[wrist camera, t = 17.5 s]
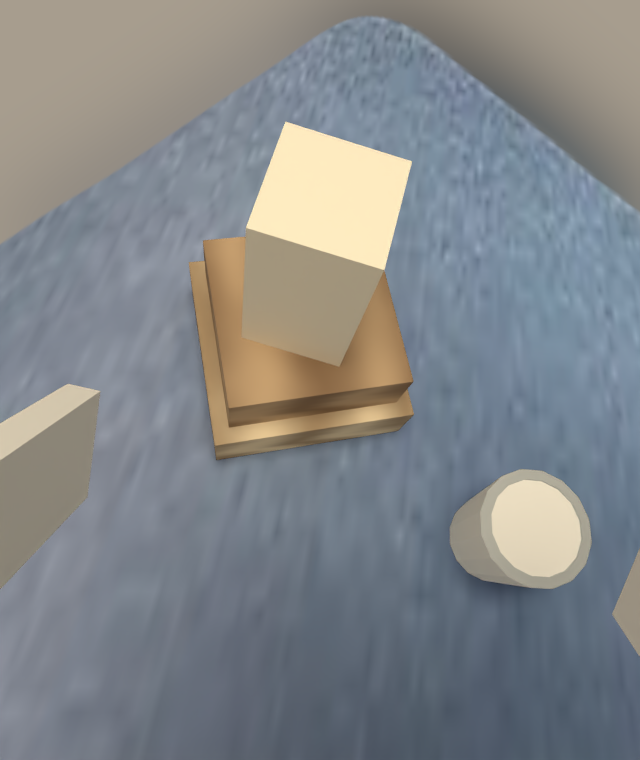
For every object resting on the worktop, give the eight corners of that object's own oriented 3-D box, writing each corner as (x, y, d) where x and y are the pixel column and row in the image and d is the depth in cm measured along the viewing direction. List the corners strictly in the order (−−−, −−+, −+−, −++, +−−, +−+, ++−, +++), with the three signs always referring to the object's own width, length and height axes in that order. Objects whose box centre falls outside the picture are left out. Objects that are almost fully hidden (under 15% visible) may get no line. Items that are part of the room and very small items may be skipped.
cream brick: (362, 282, 37) (411, 161, 27) (339, 366, 35) (384, 269, 25) (270, 254, 37) (285, 121, 27) (241, 337, 35) (245, 227, 24)
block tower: (359, 273, 47) (383, 211, 39) (397, 430, 43) (433, 394, 35) (192, 290, 44) (184, 228, 37) (216, 460, 40) (213, 427, 33)
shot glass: (505, 613, 39) (560, 615, 33) (421, 548, 40) (459, 538, 33) (552, 529, 42) (611, 515, 35) (472, 469, 42) (516, 445, 36)
